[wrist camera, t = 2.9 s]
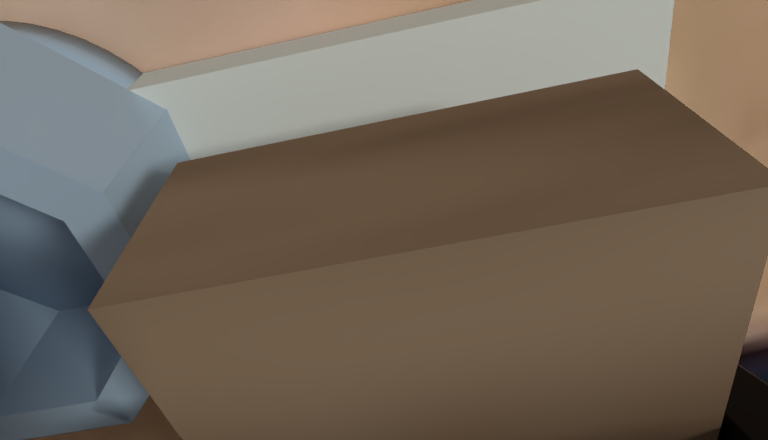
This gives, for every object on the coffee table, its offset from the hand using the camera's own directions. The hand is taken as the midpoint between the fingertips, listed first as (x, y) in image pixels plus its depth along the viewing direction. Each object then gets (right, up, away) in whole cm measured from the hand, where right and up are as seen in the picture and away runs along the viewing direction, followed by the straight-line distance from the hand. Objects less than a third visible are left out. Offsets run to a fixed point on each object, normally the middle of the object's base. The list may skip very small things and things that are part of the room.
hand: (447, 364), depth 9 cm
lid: (0, 0, 0) cm, 1 cm away
